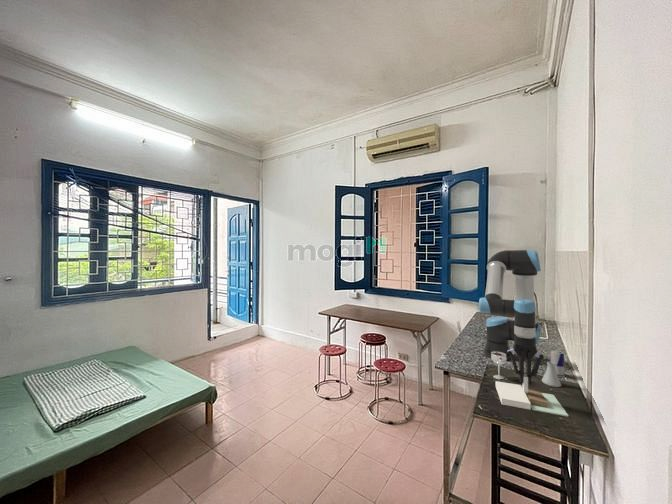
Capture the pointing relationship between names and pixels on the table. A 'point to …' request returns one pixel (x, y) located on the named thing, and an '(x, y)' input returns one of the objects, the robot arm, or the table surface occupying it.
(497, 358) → the wineglass
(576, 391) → the table surface
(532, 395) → the walnut tile
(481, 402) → the table surface
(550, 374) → the flask
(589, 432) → the table surface
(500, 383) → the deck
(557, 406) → the mat
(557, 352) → the energy drink
